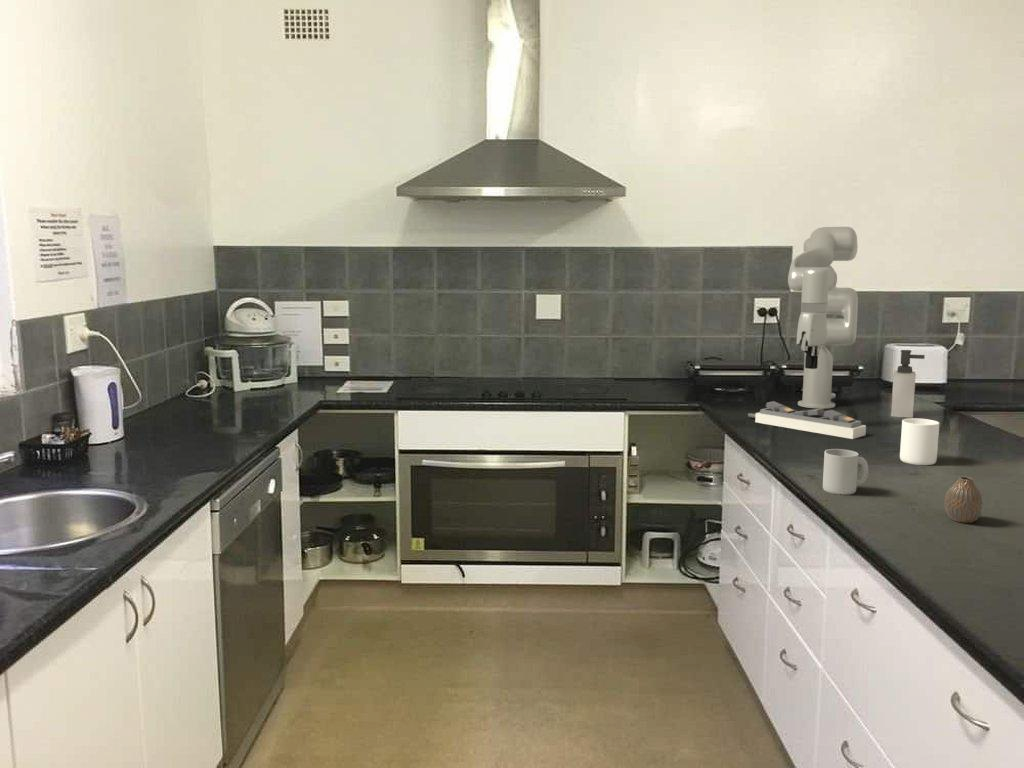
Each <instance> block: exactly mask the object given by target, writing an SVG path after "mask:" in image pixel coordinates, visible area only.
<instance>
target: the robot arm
mask: <svg viewBox="0 0 1024 768" xmlns="http://www.w3.org/2000/svg"><path fill="white" fill-rule="evenodd" d="M857 253H858V236H857V233H856V231H855V230H854V228H853V227H850V226H825V227H823V226H822V227H818V228H816V229H815V230H813V231H812V232H811V234H810V237H809V238H807V239H806V240H805V241H804V243H803V252H802V253H800V254H798V255H797V256H796V257H794V259H793V260H792V261H791V263H790V265H789V270H788V275H787V285H788V287H789V289H790V290H791V291H794V292H801V302H800V305H801V306H800V314H799V318H798V322H797V323H798V324H797V331H796V332H797V333H796V345H798V346H799V347H800V350H801V351H803V352H804V360H803V383H802V400H801V399H800V400H799V401H797V405H798V406H799V407H801V408H802V407H803V408H807V409H823V408H824V410H825V409H828V410H829V409H833V408H835V407H836V403H835V402H833V401H832V399H835V398H836V393H834V392H832V384H833V381H832V380H833V368H834V367H833V365H834V364H833V363H834V358H833V355H832V353H831V351H830V350H829V349H828V348H827V346H847V347H848V346H852V345H854V343H855V342H856V339H857V329H858V328H857V327H858V312H859V310H858V309H859V297H858V292H857V291H856V290H855V289H854V288H852V287H837V283H838V275H837V272H836V270H835V269H834V268H833V266H832V263H833V262H837V261H838V262H847V261H848V262H850V261H852V260H854V259H855V258H856V257H857ZM827 315H839V316H840V315H841V317H843V318H838V317H837V318H833V317H832V318H831V317H827Z"/></svg>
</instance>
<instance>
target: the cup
mask: <svg viewBox="0 0 1024 768" xmlns="http://www.w3.org/2000/svg"><path fill="white" fill-rule="evenodd" d="M823 456H824V457H823V473H822V475H823V477H822V489H823V491H825V492H827V493H829V494H834V495H840V494H841V496H843V495H844V496H848V495H853V494H855V493H856V492H857V486H860V485H863V483H865V482H866V480H867V479H868V476H869V465H868V462H867V460H866V459H865V458H864V457H862V456H859V453H858V452H857V451H854V450H851V449H842V448H831V449H825V450H824V454H823ZM859 465H860V475H859V476H858V468H859Z"/></svg>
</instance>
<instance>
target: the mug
mask: <svg viewBox="0 0 1024 768" xmlns="http://www.w3.org/2000/svg"><path fill="white" fill-rule="evenodd" d="M939 432H940V422H939V421H937V420H933V419H927V418H920V417H919V418H914V417H913V418H910V417H907V418H904V419H902V420H901V436H900V445H899V447H900V449H899V459H900V461H902V462H903V463H906V464H908V465H914V466H932V465H934V464H936V463H937V459H938V445H939Z"/></svg>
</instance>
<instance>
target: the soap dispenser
mask: <svg viewBox="0 0 1024 768" xmlns="http://www.w3.org/2000/svg"><path fill="white" fill-rule="evenodd" d="M911 353H912V350H911V349H900V365H898V366H897V370H893V378H892V391H891V408H890V409H891V410H890V417H898V418H899V417H900V418H914V403H915V389H916V377H917V374H916V371H913V366H909V365H910V364H911V359H917V360H925V354H911Z"/></svg>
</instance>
